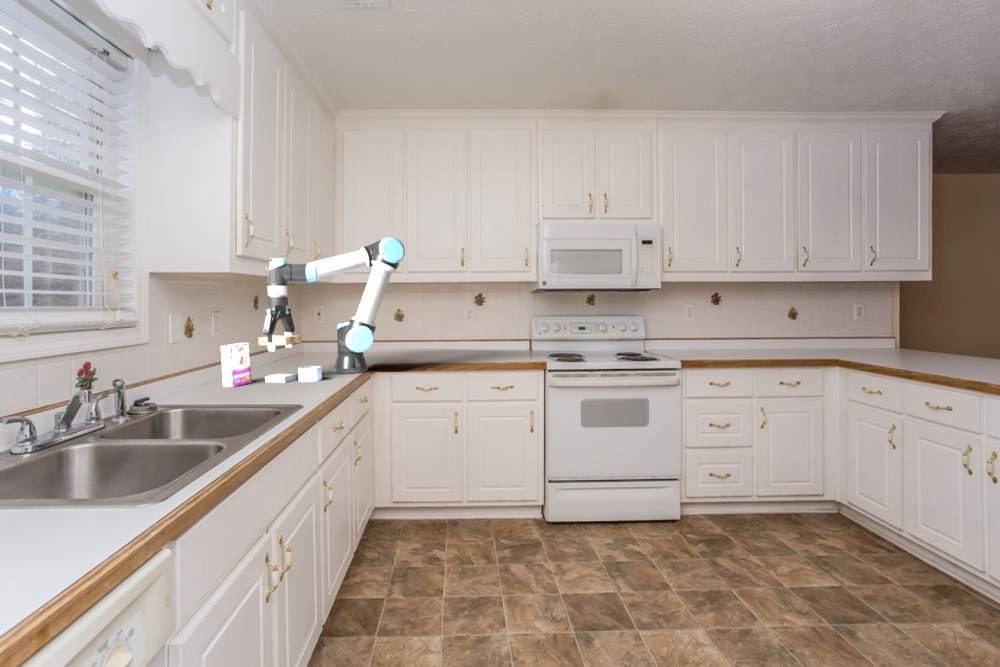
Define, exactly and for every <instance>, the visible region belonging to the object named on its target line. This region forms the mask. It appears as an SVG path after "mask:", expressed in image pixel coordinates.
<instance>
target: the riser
mask: <svg viewBox="0 0 1000 667" xmlns="http://www.w3.org/2000/svg"><path fill="white" fill-rule="evenodd" d="M294 381H297V373H275V374H269V375H265V376H264V382H265V383H269V384H271V383H272V384H273V383H274V384H275V383H276V384H286V383H289V382H294Z"/></svg>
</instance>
